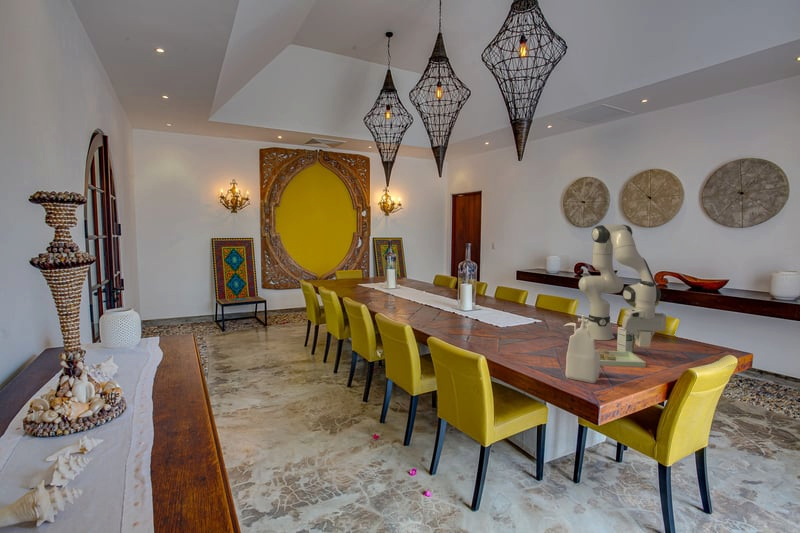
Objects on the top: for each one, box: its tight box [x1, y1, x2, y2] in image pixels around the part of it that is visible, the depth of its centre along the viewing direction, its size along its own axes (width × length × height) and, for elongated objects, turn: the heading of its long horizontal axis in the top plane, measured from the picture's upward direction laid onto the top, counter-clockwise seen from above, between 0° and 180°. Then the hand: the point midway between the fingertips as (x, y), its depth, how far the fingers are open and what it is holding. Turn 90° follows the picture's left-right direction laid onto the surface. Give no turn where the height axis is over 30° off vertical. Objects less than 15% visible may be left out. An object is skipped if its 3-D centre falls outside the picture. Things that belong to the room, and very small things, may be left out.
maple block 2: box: [598, 351, 606, 360], centre depth 203 cm, size 4×4×4 cm
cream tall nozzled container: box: [563, 314, 601, 384], centre depth 184 cm, size 17×14×30 cm
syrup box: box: [616, 326, 635, 354], centre depth 217 cm, size 6×6×14 cm
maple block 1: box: [597, 348, 610, 354], centre depth 208 cm, size 4×4×4 cm
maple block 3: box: [604, 354, 616, 361], centre depth 199 cm, size 4×4×4 cm
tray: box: [599, 350, 647, 368], centre depth 203 cm, size 17×22×4 cm
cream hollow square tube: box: [634, 330, 652, 348], centre depth 208 cm, size 5×5×8 cm
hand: (643, 338), depth 208 cm, fingers closed on cream hollow square tube, 5 cm apart
